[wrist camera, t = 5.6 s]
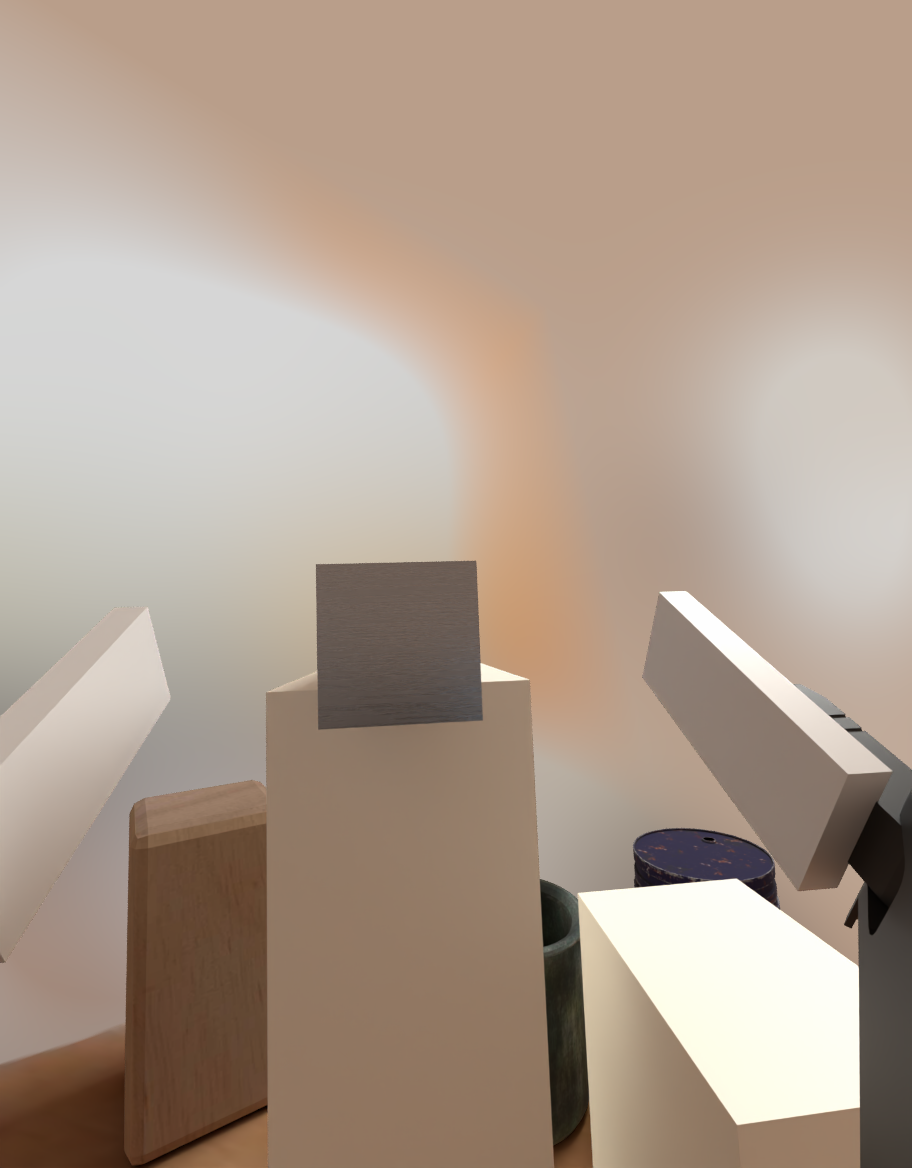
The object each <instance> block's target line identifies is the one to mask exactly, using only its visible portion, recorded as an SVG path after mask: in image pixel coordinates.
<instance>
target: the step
mask: <svg viewBox="0 0 912 1168" xmlns="http://www.w3.org/2000/svg"><path fill="white" fill-rule="evenodd" d="M578 907H579V925H580V943H581V961H582V978H583V996H584V1014H585V1032H586V1050H587V1068H588V1085H589V1103H590V1121H591V1139H592V1157H593V1168H860V1074H859V967H858V966H857V965H856V964H854V963H853V962H851V961H850V960H849V959H847V958H846V957H844V956H843V955H842V954H840V953H839V952H838V951H836V950H835V949H833V948H832V947H831V946H829V945H828V944H826V943H825V942H824V941H822V940H821V939H819V938H818V937H817V936H815V935H814V934H813V933H811V932H810V931H808V930H807V929H805V928H804V927H803V926H801V925H800V924H799V923H797V922H796V921H795V920H793V919H792V918H790V917H789V916H788V915H786V914H785V913H783V912H782V911H781V910H779V909H778V908H777V907H775V906H774V905H772V904H771V903H770V902H768V901H767V900H766V899H764V898H763V897H761V896H760V895H759V894H757V893H756V892H754V891H753V890H752V889H750V888H749V887H748V886H746V885H745V884H743V883H742V882H741V881H739V880H738V879H727V880H716V881H706V882H695V883H684V884H673V885H662V886H651V887H640V888H630V889H619V890H608V891H598V892H587V893H578Z"/></svg>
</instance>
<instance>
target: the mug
mask: <svg viewBox="0 0 912 1168" xmlns="http://www.w3.org/2000/svg"><path fill="white" fill-rule="evenodd" d="M540 896H541V916H542V936H543V956H544V976H545V996H546V1016H547V1036H548V1056H549V1076H550V1096H551V1116H552V1136H553V1145H556V1144H558V1143H559V1142H561V1141H562V1140H564V1139H565V1138H566V1137H568V1136H569V1135H570V1134H571V1133H572V1132H573V1131H574V1129H575V1128H576V1126H577V1125H578V1124H579V1122H580V1121H581V1119H582V1117H583V1116H584V1113H585V1111H586V1109H587V1106H588V1102H589V1085H588V1068H587V1050H586V1032H585V1014H584V996H583V978H582V961H581V943H580V925H579V907H578V899H577V898H576V897H575V896H573V895H572V894H571V893H570V892H568V891H567V890H565V889H563V888H562V887H560V886H557V885H555V884H553V883H551V882H548V881H545V880H541V879H540Z"/></svg>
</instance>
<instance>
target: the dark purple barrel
mask: <svg viewBox="0 0 912 1168" xmlns="http://www.w3.org/2000/svg"><path fill="white" fill-rule="evenodd" d="M633 851H634V860H635V865H634V866H635V879H634V884H635V885H634V886H635V888H640V887H651V886H662V885H673V884H684V883H695V882H706V881H716V880H727V879H738V880H739V881H741V882H742V883H743V884H745V885H746V886H748V887H749V888H750V889H752V890H753V891H754V892H756V893H757V894H759V895H760V896H761V897H763V898H764V899H766V900H767V901H768V902H770V903H771V904H772V905H774V906H775V907H777V908H778V909H779V910H780V905H779V904H780V903H779V899H778V896H777V886H776V882H775V879H774V878H775V864H774V860H773V858H772V856H771V855H770V854H769V853H768V852H767V851H766V850H764V849H763V848H761V847H760V846H758V845H756V844H754V843H752V842H750V841H747V840H745V839H742V838H739V837H736V836H733V835H729V834H725V833H720V832H715V831H709V830H702V829H690V828H672V829H661V830H655V831H651V832H648V833H645V834H643V835H641V836H639V837H638V838H637V839H636V840H635V842H634V844H633Z"/></svg>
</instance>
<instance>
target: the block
mask: <svg viewBox="0 0 912 1168" xmlns="http://www.w3.org/2000/svg"><path fill="white" fill-rule="evenodd" d="M129 827H130V828H129V873H128V875H129V876H128V878H129V880H128V925H127V978H126V980H127V981H126V1030H125V1104H124V1152H125V1154H126V1156H127V1158H128V1159H129V1161H130V1163H131V1165H141V1164H145V1163H147V1162H149V1161H151V1160H153V1159H155V1158H157V1157H159V1156H161V1155H163V1154H166V1153H168V1152H170V1151H172V1150H174V1149H176V1148H178V1147H180V1146H182V1145H184V1144H186V1143H189V1142H191V1141H193V1140H195V1139H197V1138H199V1137H201V1136H203V1135H205V1134H207V1133H209V1132H211V1131H214V1130H216V1129H218V1128H220V1127H222V1126H224V1125H226V1124H228V1123H230V1122H232V1121H234V1120H237V1119H239V1118H241V1117H243V1116H245V1115H247V1114H249V1113H251V1112H253V1111H255V1110H257V1109H260V1108H262V1107H264V1106H266V1105H268V1057H267V791H266V787H265V786H264V785H262V783H260V782H258V781H253V780H250V781H244V782H238V783H232V784H226V785H220V786H214V787H208V788H202V789H196V790H190V791H184V792H178V793H173V794H166V795H160V796H154V797H148V798H144V799H142V800H140V801H138V802H137V803H135V804H134V805H133V808H132V810H131V812H130V822H129Z"/></svg>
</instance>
